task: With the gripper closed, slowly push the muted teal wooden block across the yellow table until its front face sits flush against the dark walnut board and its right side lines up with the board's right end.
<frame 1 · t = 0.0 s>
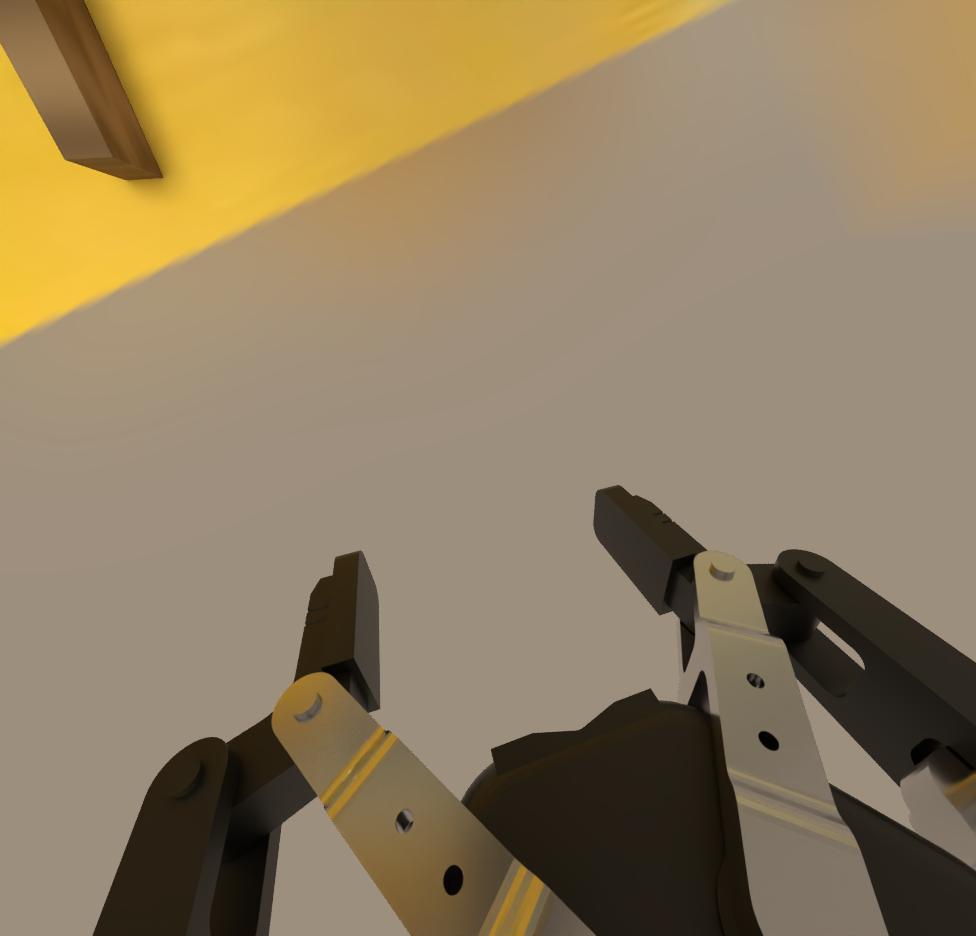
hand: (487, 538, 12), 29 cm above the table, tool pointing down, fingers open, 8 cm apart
walnut board: (76, 35, 22), on the table
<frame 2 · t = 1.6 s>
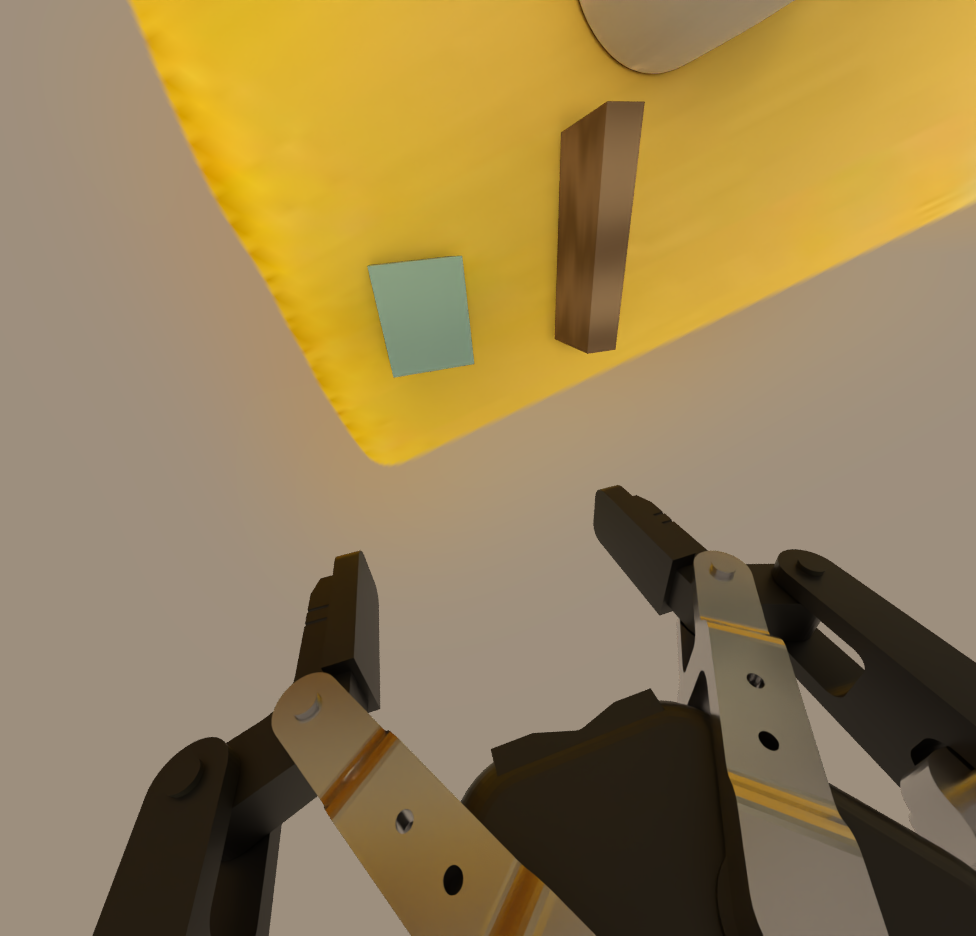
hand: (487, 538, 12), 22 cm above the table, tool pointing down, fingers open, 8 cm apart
teal block: (418, 311, 29), on the table
walnut board: (571, 247, 29), on the table
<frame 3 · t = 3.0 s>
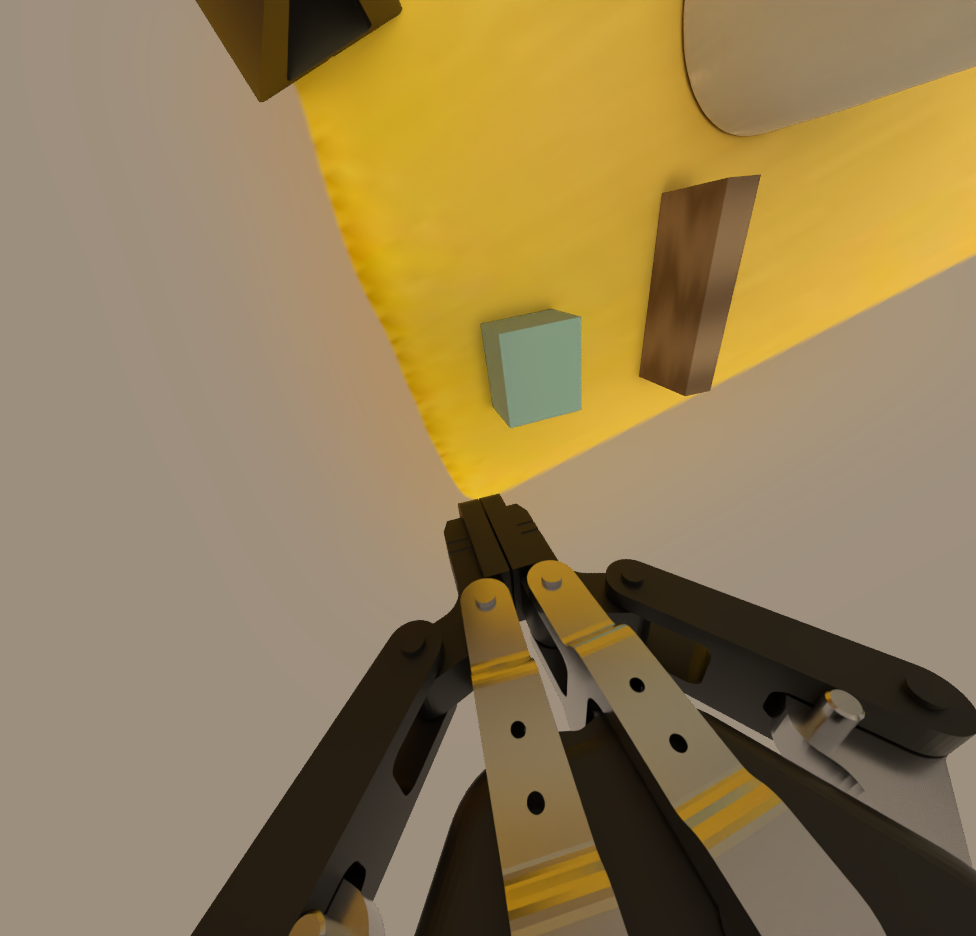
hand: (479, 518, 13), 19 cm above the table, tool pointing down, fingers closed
teal block: (520, 359, 30), on the table
walnut board: (661, 294, 31), on the table
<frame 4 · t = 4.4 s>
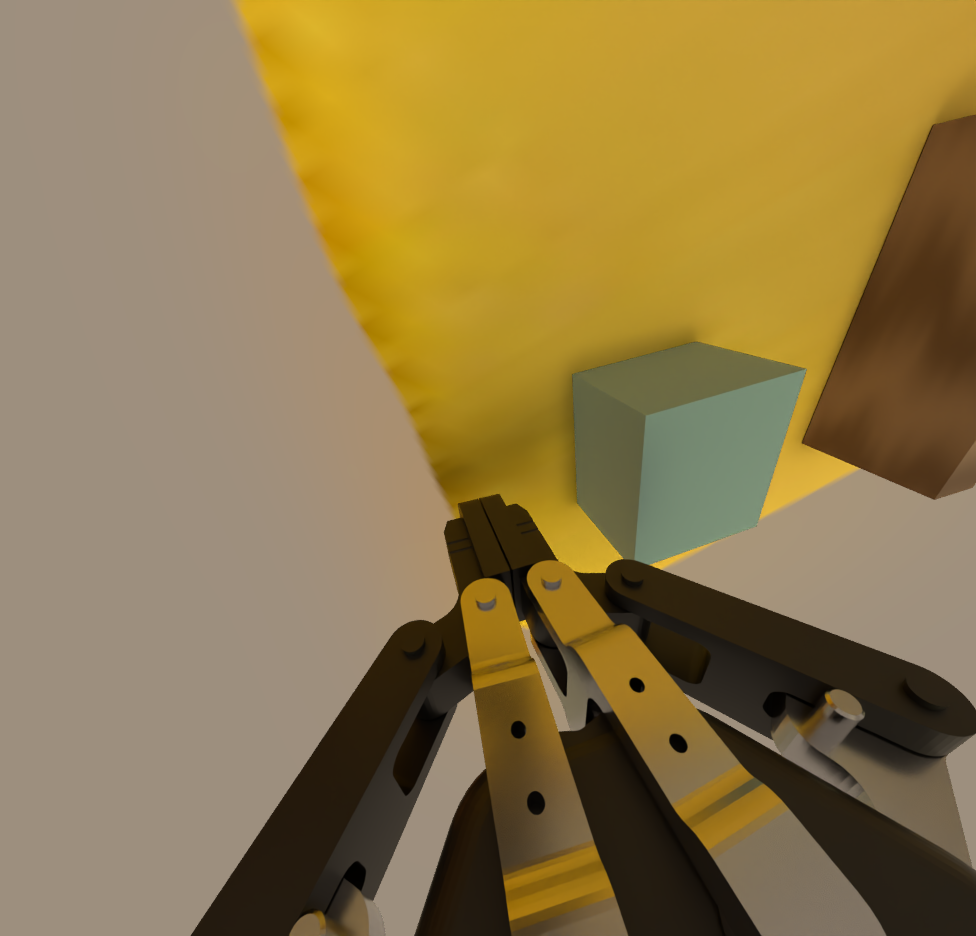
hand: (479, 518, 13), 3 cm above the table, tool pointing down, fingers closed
teal block: (630, 428, 17), on the table
walnut board: (872, 313, 18), on the table
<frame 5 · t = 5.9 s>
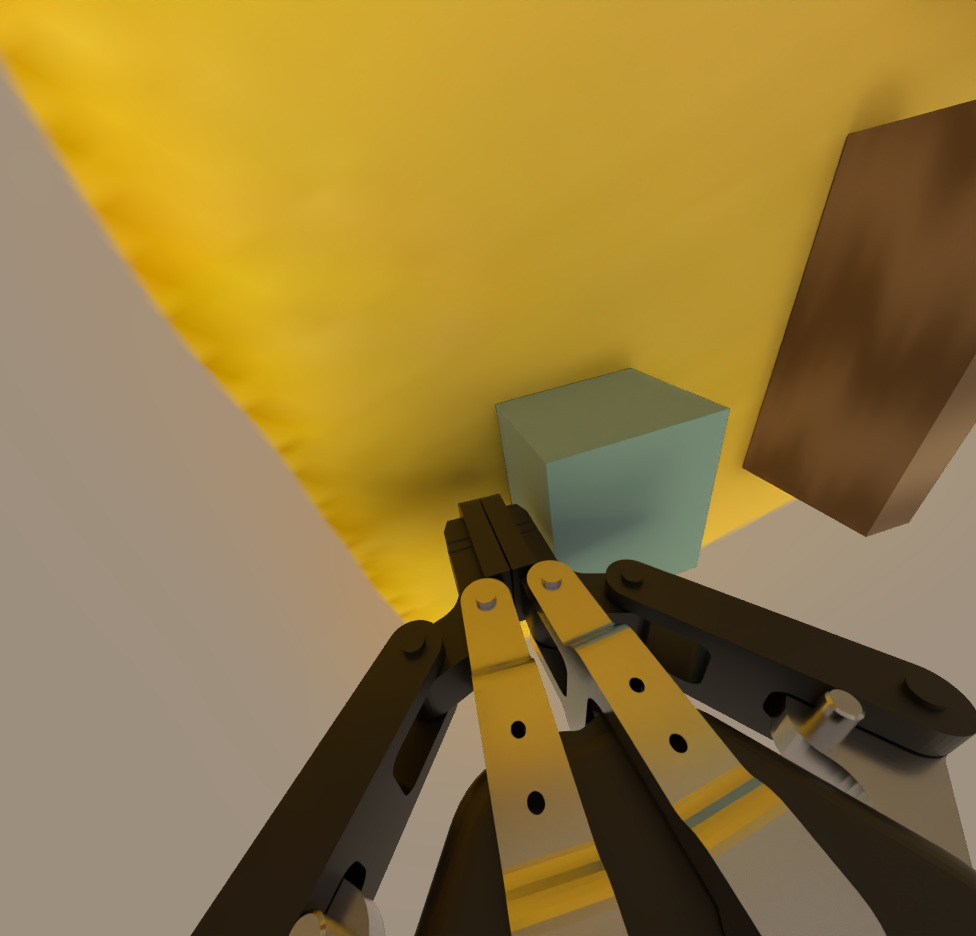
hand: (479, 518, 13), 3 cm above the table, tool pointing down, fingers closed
teal block: (568, 458, 16), on the table, touching gripper
walnut board: (804, 334, 17), on the table
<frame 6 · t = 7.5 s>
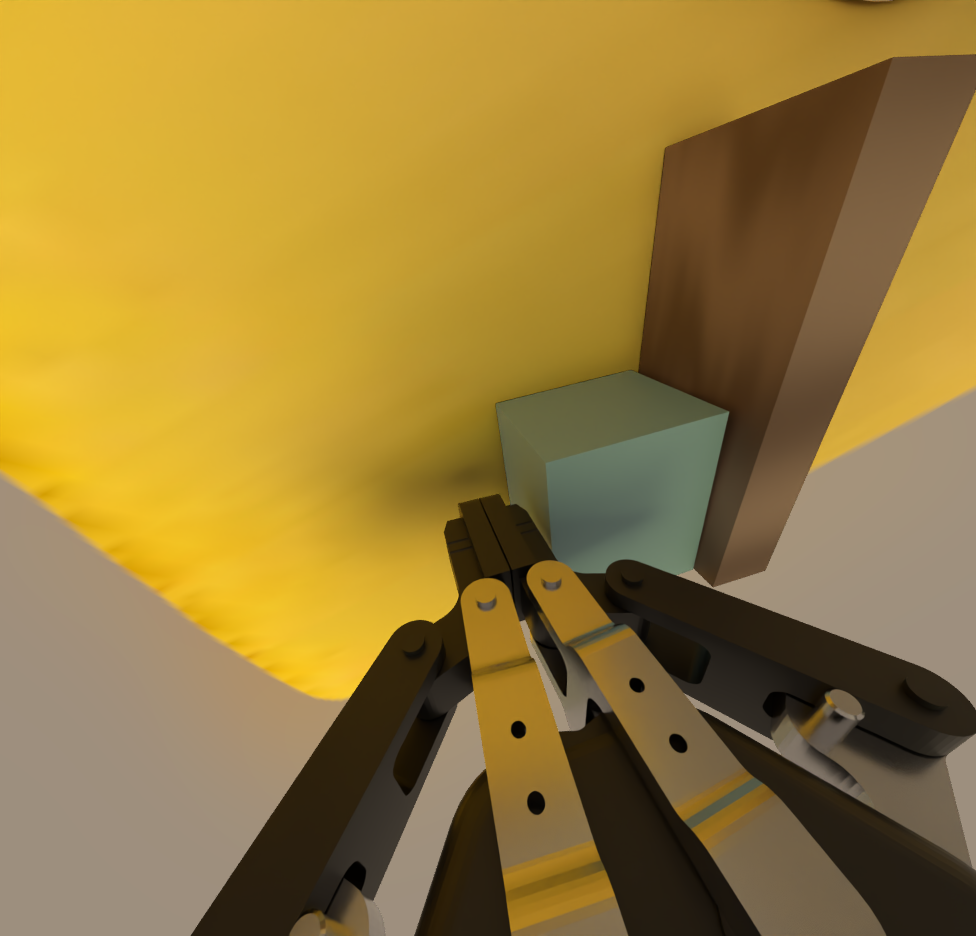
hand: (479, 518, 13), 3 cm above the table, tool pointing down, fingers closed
teal block: (567, 458, 16), on the table, touching gripper, walnut board
walnut board: (664, 361, 15), on the table
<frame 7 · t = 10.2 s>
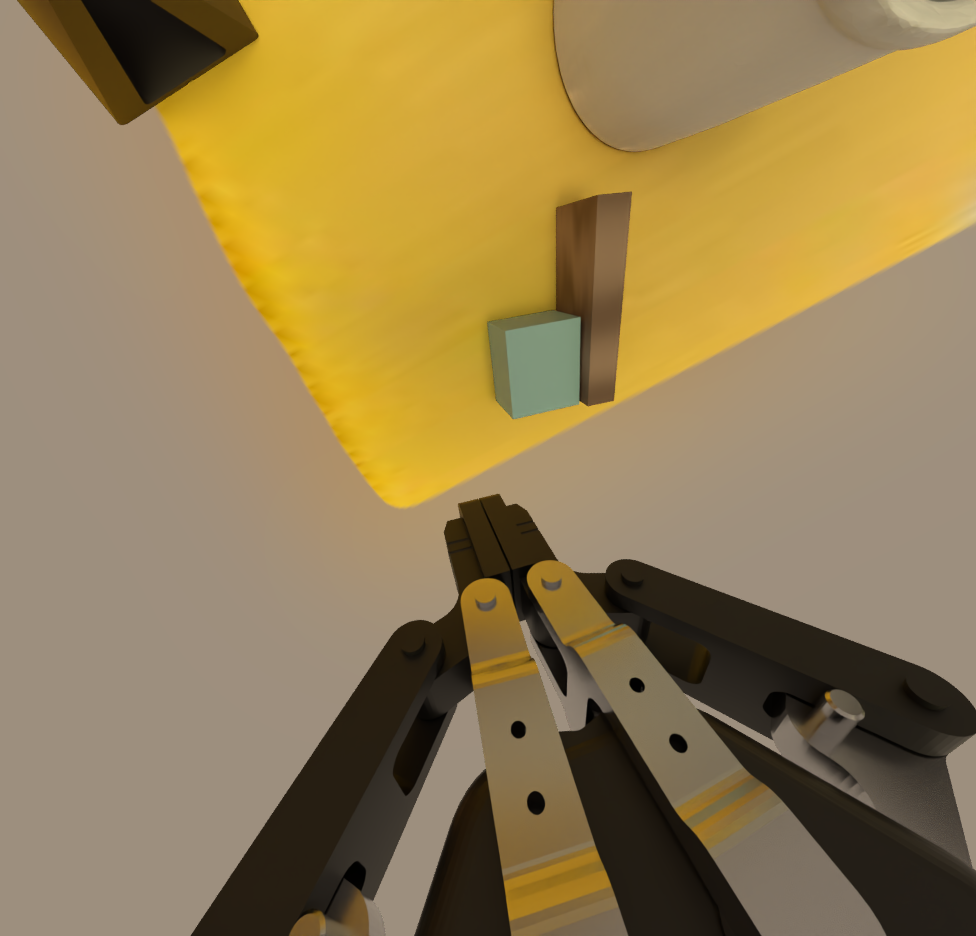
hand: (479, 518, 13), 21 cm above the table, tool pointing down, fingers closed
teal block: (523, 356, 32), on the table
walnut board: (569, 305, 31), on the table
phone stand: (139, 7, 18), on the table
utensil holder: (644, 14, 23), on the table
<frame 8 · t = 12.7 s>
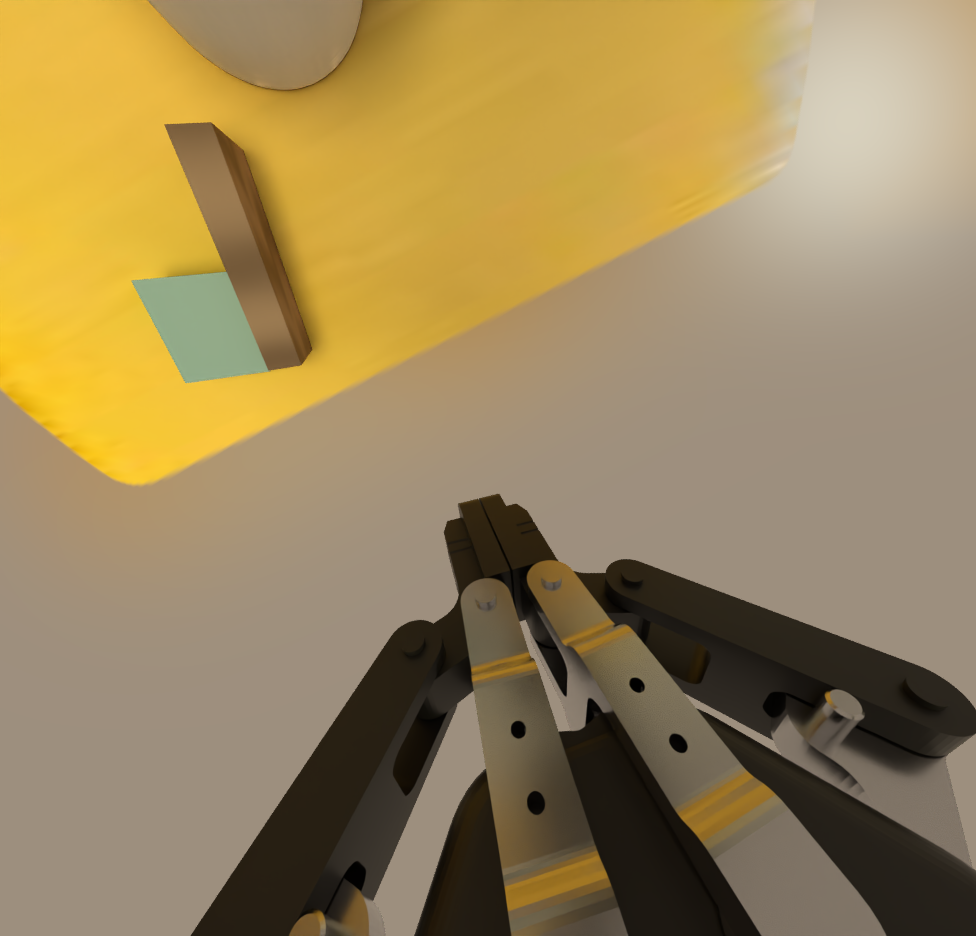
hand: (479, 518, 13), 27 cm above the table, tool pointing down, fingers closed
teal block: (230, 320, 30), on the table
walnut board: (266, 264, 29), on the table
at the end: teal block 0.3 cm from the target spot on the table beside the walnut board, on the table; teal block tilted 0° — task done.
